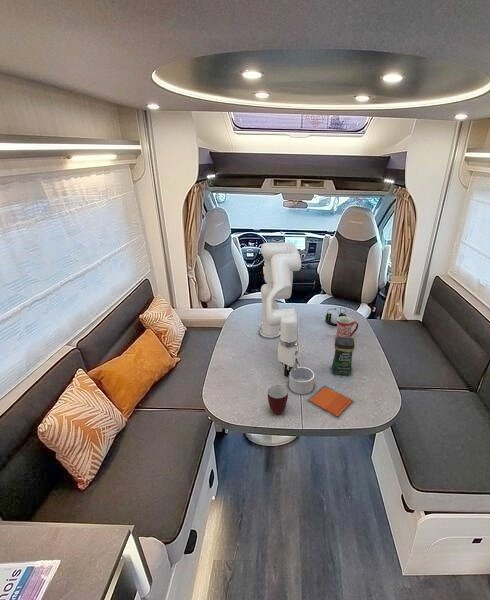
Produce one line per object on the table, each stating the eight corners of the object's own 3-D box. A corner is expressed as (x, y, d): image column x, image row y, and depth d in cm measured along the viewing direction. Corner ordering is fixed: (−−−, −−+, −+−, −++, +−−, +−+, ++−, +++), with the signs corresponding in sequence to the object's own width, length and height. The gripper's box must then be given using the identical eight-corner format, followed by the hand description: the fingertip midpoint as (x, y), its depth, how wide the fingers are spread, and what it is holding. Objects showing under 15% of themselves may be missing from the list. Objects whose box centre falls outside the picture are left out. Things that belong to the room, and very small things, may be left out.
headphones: (346, 302, 210) (354, 315, 192) (345, 315, 214) (353, 329, 195) (323, 302, 208) (329, 316, 190) (322, 315, 212) (328, 329, 194)
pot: (284, 386, 143) (284, 374, 140) (299, 375, 151) (299, 364, 148) (303, 397, 136) (304, 385, 134) (318, 385, 144) (319, 373, 142)
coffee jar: (332, 375, 152) (335, 342, 144) (331, 365, 159) (334, 333, 152) (352, 376, 151) (356, 343, 144) (350, 366, 158) (354, 335, 151)
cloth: (309, 400, 135) (309, 399, 134) (325, 387, 143) (325, 386, 143) (337, 416, 126) (337, 415, 126) (352, 401, 135) (352, 400, 135)
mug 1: (266, 400, 134) (267, 381, 130) (285, 399, 135) (286, 381, 131) (268, 419, 124) (268, 399, 120) (288, 417, 125) (289, 398, 121)
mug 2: (336, 344, 178) (339, 323, 173) (333, 336, 187) (335, 316, 181) (358, 344, 179) (361, 323, 174) (354, 336, 188) (356, 316, 182)
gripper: (306, 344, 139) (304, 378, 146) (281, 333, 148) (281, 365, 155) (295, 351, 133) (294, 386, 141) (270, 338, 142) (270, 372, 150)
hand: (287, 375), depth 148 cm, fingers closed
